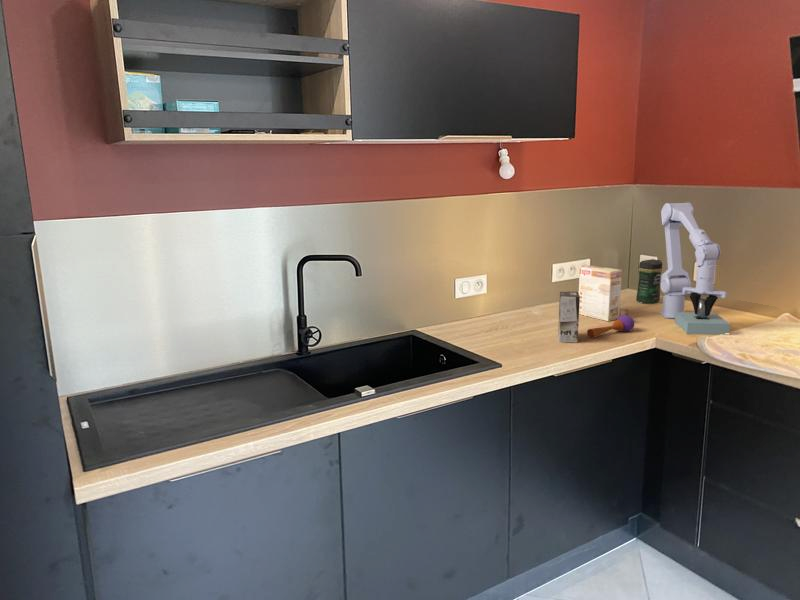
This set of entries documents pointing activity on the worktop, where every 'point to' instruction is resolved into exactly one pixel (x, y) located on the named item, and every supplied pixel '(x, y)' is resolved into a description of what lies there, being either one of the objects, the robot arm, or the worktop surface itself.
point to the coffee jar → (649, 281)
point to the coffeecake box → (600, 292)
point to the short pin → (623, 312)
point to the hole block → (702, 324)
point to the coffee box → (568, 316)
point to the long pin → (701, 308)
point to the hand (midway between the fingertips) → (702, 314)
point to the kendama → (614, 326)
